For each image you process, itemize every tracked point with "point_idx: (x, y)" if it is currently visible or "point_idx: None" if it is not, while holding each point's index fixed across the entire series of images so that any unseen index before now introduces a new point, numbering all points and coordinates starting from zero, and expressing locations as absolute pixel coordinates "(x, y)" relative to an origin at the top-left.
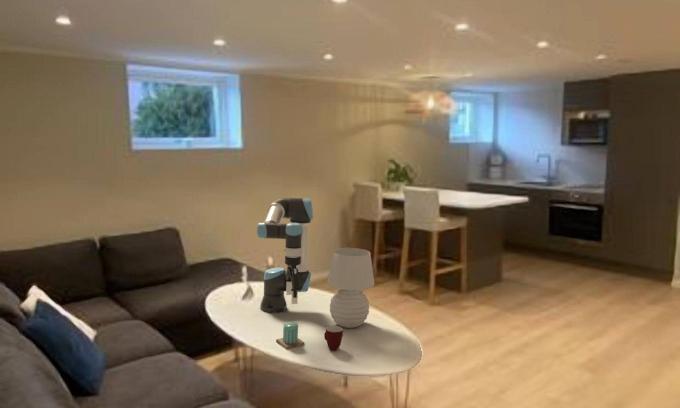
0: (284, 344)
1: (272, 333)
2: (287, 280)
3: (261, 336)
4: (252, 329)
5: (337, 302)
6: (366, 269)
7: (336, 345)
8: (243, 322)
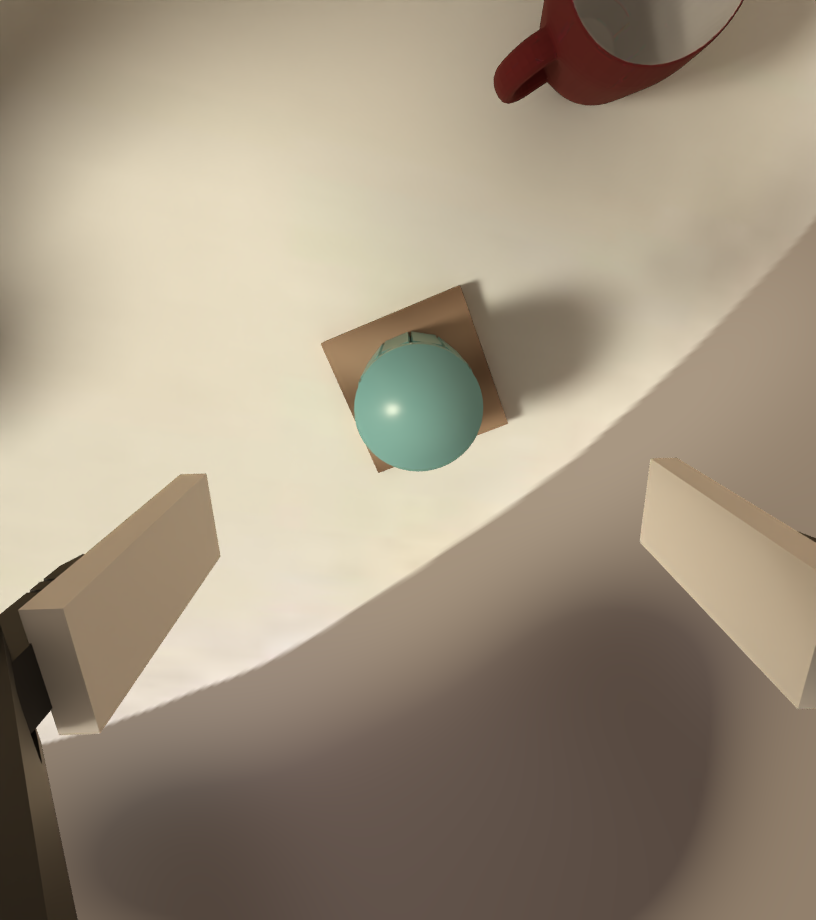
0: None
1: (238, 473)
2: (41, 750)
3: (285, 542)
4: None
5: None
6: None
7: (664, 20)
8: None
